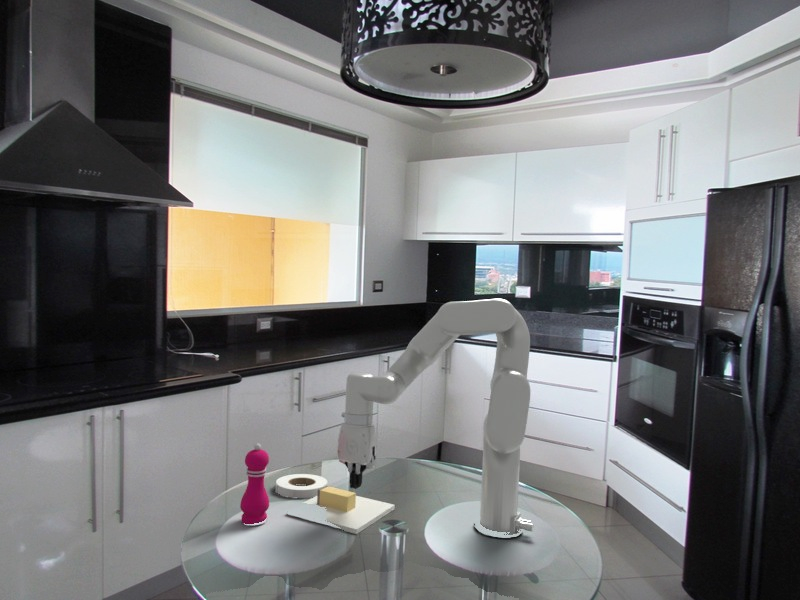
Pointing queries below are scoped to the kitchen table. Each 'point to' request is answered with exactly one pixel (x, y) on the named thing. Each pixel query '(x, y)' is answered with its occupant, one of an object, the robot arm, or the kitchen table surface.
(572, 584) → the kitchen table surface
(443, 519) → the kitchen table surface
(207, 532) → the kitchen table surface
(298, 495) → the object
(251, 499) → the pepper mill
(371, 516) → the board
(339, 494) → the block
